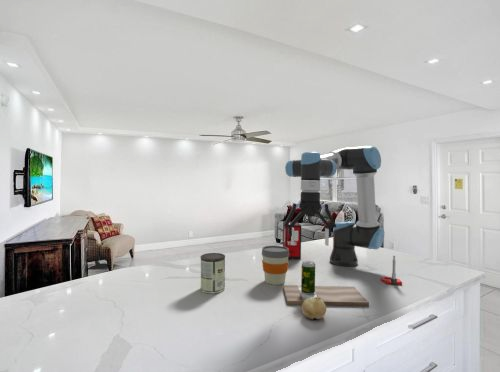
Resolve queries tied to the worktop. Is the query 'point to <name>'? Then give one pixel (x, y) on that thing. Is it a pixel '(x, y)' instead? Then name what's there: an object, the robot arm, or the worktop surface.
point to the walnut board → (326, 295)
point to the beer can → (308, 278)
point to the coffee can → (212, 273)
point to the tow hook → (393, 278)
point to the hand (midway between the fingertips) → (309, 244)
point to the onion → (314, 307)
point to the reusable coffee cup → (275, 264)
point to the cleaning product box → (296, 248)
